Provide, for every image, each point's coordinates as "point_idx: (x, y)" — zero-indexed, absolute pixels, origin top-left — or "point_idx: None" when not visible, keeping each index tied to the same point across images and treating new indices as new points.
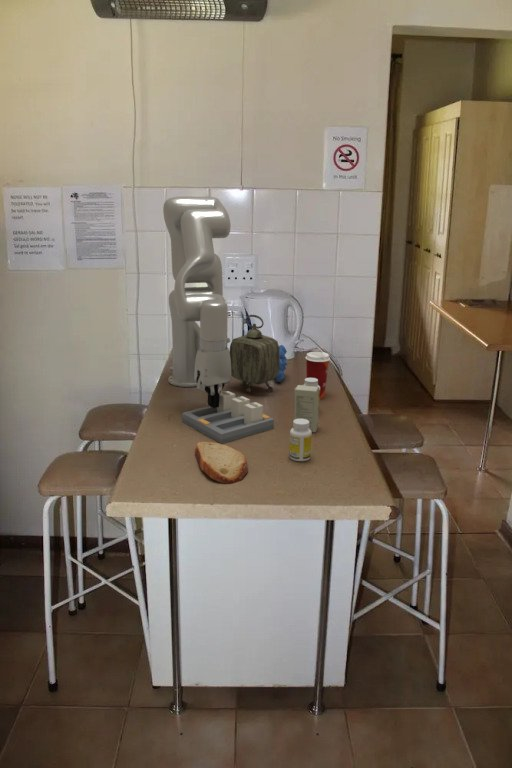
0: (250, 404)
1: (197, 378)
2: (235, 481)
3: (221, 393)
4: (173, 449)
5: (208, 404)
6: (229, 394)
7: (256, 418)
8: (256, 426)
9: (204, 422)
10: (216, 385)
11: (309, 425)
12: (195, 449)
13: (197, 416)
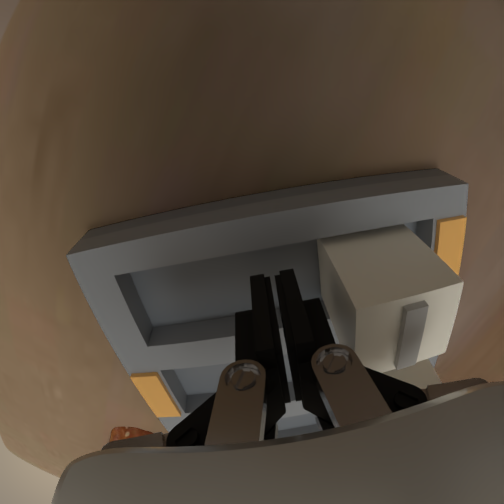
0: None
1: (96, 489)
2: None
3: (388, 319)
4: (56, 405)
5: (251, 279)
6: (409, 364)
7: None
8: None
9: (155, 406)
10: (359, 405)
11: None
12: (111, 436)
13: (141, 336)
